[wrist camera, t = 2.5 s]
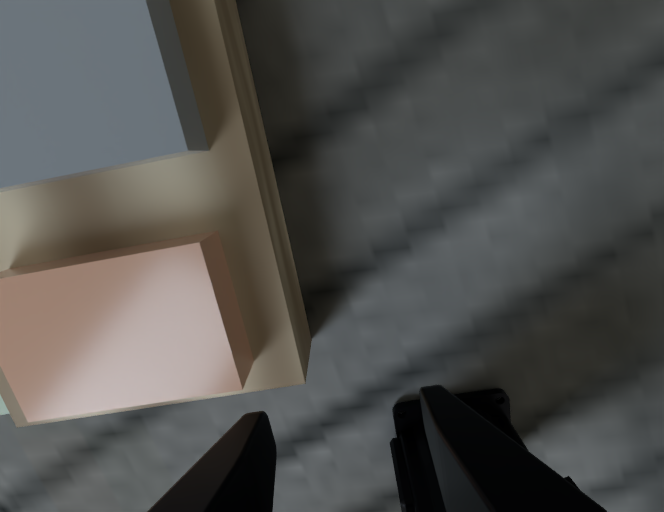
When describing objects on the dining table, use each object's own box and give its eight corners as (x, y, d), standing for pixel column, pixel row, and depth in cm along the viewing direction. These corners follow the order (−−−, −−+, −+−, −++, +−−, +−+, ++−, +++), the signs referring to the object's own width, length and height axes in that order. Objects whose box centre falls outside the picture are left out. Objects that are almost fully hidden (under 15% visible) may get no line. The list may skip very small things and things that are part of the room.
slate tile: (159, -35, 12) (125, -71, 10) (209, 150, 14) (188, 150, 12) (-87, 23, 13) (-164, 0, 11) (-12, 194, 14) (-67, 201, 12)
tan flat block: (226, -38, 15) (190, -101, 12) (311, 339, 20) (305, 383, 16) (-74, 33, 16) (-201, -4, 12) (75, 377, 21) (16, 427, 17)
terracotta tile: (217, 230, 14) (199, 242, 13) (254, 361, 16) (242, 390, 14) (8, 268, 15) (-40, 285, 13) (63, 391, 17) (27, 422, 15)
